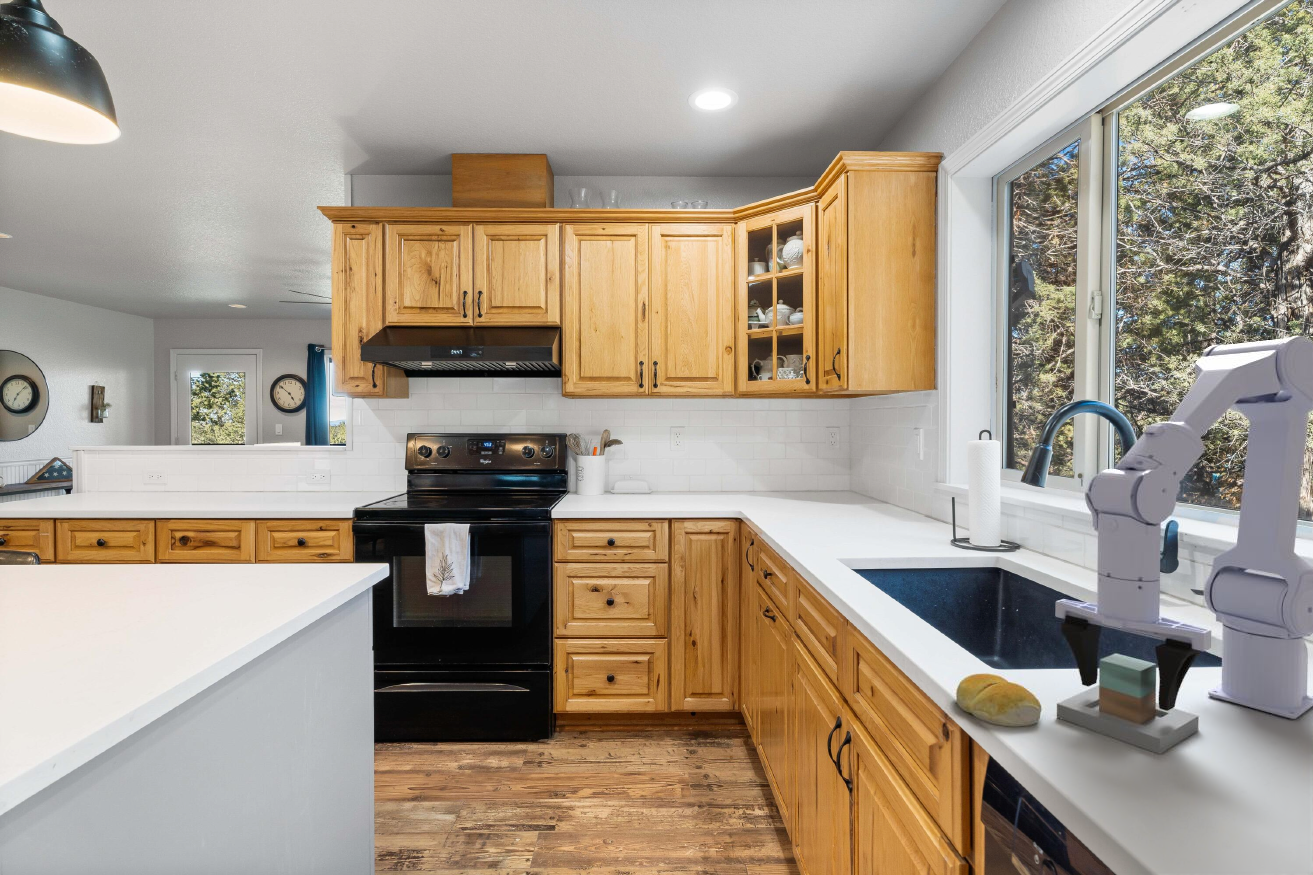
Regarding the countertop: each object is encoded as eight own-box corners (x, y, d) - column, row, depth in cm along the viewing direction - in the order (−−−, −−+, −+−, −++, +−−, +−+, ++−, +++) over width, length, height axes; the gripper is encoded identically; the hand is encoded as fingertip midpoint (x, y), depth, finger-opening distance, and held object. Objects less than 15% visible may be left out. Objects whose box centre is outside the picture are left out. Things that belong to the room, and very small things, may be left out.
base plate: (1098, 697, 80) (1098, 685, 80) (1198, 729, 72) (1198, 715, 72) (1056, 717, 75) (1056, 703, 75) (1159, 754, 66) (1159, 738, 66)
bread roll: (996, 693, 82) (996, 662, 82) (1054, 724, 73) (1054, 689, 73) (939, 699, 80) (939, 667, 80) (992, 732, 71) (992, 696, 71)
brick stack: (1115, 703, 76) (1115, 653, 76) (1155, 716, 73) (1156, 663, 73) (1098, 711, 74) (1099, 659, 74) (1139, 725, 71) (1140, 670, 71)
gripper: (1042, 567, 77) (1041, 681, 77) (1193, 594, 65) (1191, 729, 65) (1072, 561, 81) (1071, 669, 81) (1219, 585, 69) (1217, 712, 69)
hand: (1126, 695), depth 73 cm, fingers open, 7 cm apart
